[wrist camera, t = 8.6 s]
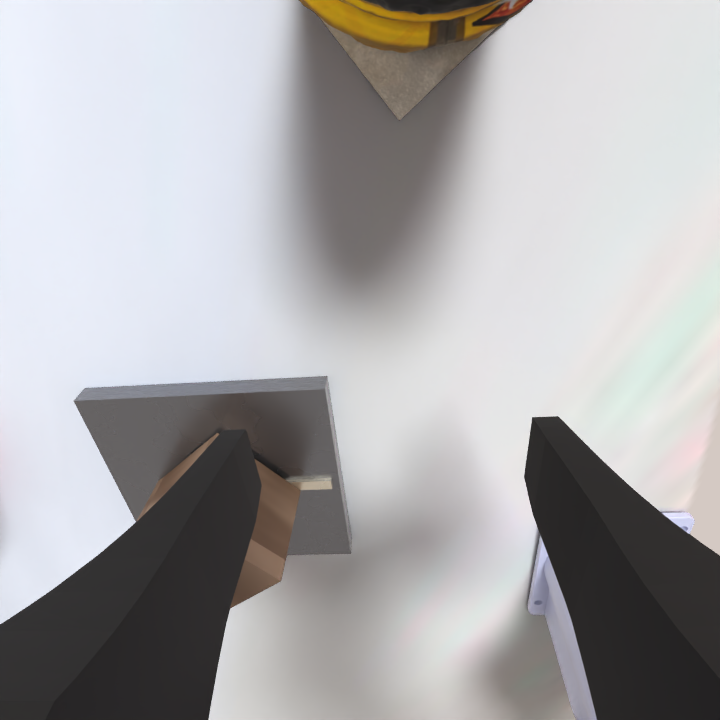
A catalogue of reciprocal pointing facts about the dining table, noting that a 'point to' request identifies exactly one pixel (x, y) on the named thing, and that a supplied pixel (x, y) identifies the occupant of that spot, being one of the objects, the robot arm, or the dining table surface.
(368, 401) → the dining table surface
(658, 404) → the dining table surface
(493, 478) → the dining table surface
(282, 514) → the taped cardboard box
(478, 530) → the dining table surface
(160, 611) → the robot arm
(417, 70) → the condiment
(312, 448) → the hub plate
